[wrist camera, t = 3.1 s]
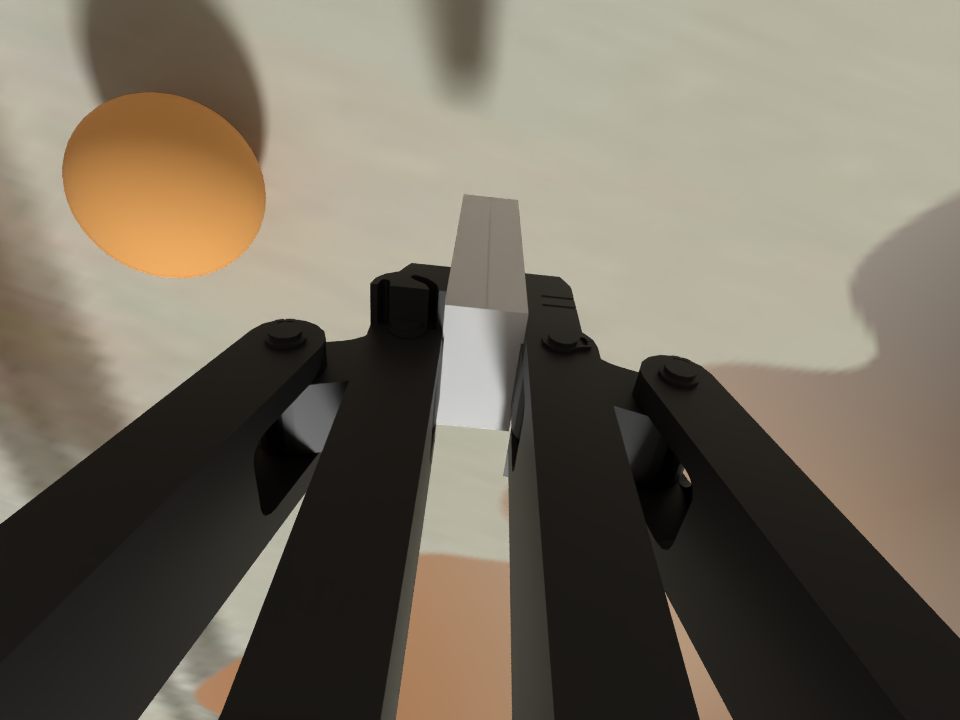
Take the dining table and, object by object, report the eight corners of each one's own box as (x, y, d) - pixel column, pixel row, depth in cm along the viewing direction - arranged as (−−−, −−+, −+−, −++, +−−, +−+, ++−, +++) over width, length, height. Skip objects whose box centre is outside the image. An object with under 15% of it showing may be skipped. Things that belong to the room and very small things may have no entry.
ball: (215, 267, 22) (142, 339, 17) (93, 145, 20) (-29, 190, 15) (319, 188, 20) (269, 244, 16) (200, 43, 18) (98, 59, 13)
